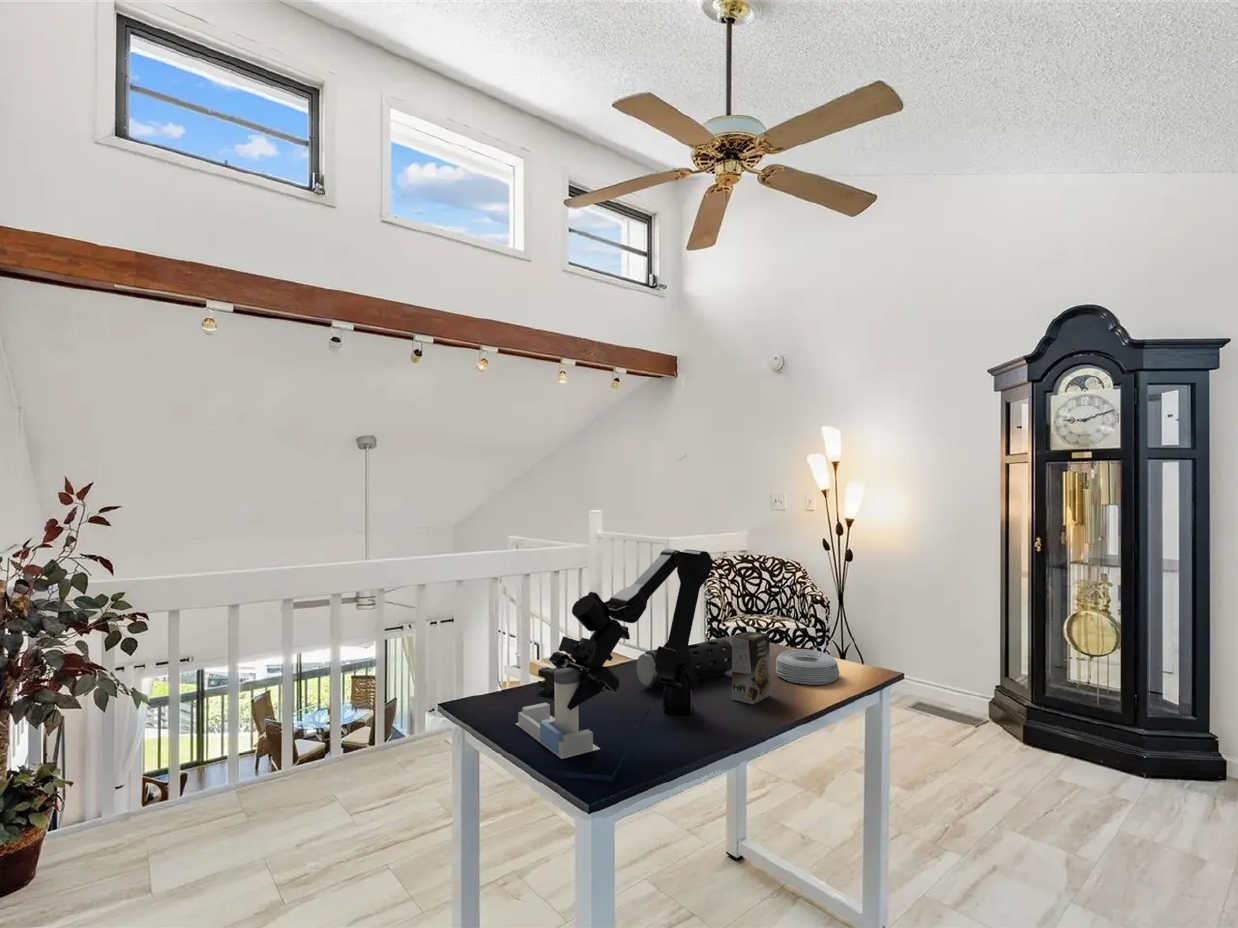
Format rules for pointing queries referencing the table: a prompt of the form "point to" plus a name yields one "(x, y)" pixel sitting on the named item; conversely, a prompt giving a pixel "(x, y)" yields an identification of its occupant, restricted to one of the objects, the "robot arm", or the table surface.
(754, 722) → the table surface
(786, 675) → the cable
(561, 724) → the white capped cylinder
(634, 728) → the table surface
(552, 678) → the black piece
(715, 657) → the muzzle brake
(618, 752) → the table surface
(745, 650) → the cookie box
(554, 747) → the white slotted stand
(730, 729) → the table surface
